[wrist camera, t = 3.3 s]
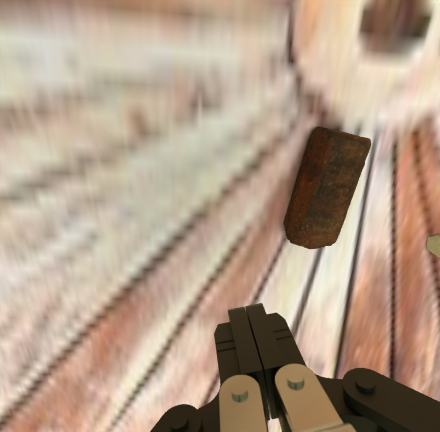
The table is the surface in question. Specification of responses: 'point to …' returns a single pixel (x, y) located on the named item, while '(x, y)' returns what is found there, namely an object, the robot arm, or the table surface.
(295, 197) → the brick
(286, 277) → the table surface
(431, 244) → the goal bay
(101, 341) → the table surface
